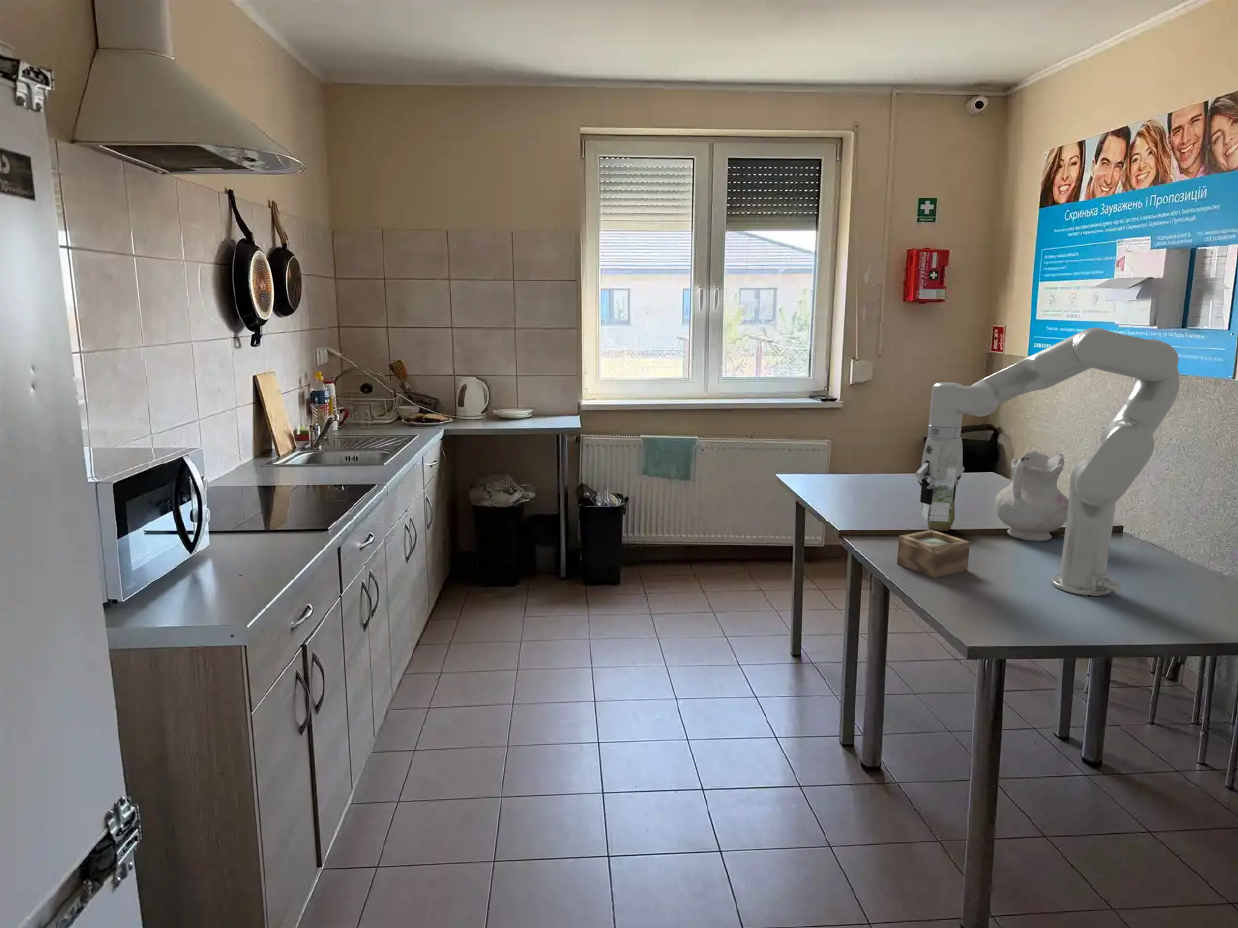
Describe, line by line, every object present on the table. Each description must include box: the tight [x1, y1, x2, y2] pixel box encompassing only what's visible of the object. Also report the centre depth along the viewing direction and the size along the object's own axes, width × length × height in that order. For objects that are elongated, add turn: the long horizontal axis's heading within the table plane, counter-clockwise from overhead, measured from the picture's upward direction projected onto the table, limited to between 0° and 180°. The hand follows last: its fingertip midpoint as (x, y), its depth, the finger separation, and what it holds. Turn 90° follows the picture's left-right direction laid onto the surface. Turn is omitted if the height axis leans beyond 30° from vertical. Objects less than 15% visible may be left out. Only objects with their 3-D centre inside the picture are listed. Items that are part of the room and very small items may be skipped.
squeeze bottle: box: [927, 500, 956, 532], centre depth 242 cm, size 8×8×18 cm
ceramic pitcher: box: [994, 450, 1069, 542], centre depth 235 cm, size 22×20×25 cm
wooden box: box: [896, 529, 971, 578], centre depth 210 cm, size 12×12×8 cm
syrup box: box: [921, 466, 956, 523], centre depth 206 cm, size 6×6×14 cm
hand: (937, 501), depth 207 cm, fingers closed on syrup box, 7 cm apart
